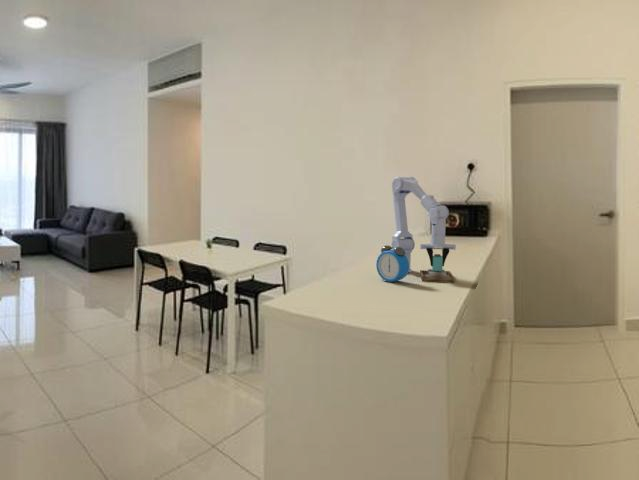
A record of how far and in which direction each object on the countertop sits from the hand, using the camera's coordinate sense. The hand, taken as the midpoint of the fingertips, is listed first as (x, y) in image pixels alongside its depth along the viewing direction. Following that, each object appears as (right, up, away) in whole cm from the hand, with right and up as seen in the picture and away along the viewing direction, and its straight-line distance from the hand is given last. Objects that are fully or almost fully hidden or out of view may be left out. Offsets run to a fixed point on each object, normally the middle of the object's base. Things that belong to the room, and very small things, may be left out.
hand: (437, 265), depth 194 cm
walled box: (0, -6, +3) cm, 6 cm away
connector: (0, -2, +1) cm, 2 cm away
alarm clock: (-20, -7, -2) cm, 21 cm away
